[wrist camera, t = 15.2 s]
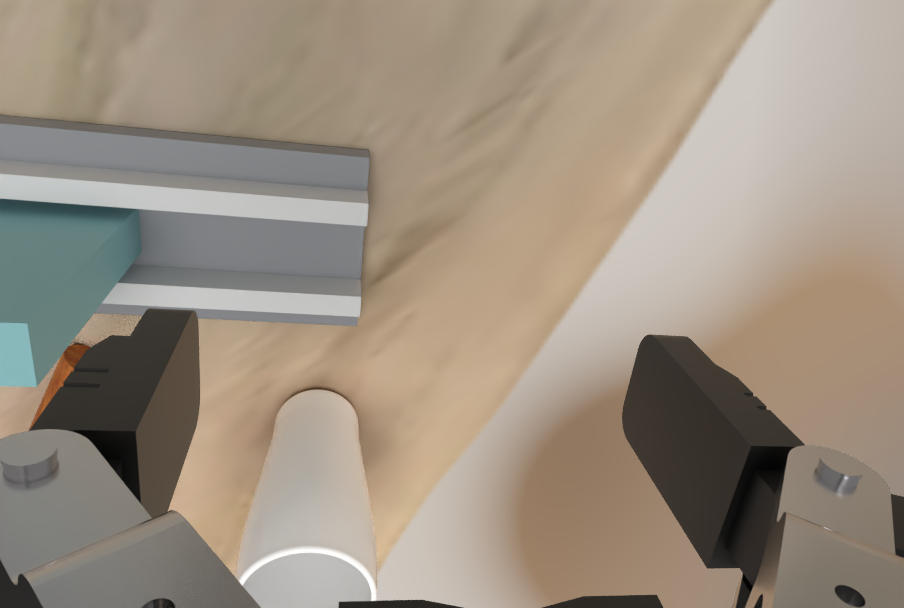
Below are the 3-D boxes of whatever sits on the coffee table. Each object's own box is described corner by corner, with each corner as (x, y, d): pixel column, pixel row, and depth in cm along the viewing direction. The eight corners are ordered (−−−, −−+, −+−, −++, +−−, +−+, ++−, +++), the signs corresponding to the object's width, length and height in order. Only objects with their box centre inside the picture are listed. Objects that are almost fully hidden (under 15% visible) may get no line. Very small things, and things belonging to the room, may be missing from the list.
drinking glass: (368, 460, 47) (378, 649, 34) (266, 464, 46) (234, 660, 33) (369, 374, 44) (380, 543, 31) (261, 376, 43) (223, 551, 30)
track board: (-117, 103, 34) (-179, 119, 30) (368, 150, 38) (371, 169, 34) (-80, 288, 38) (-130, 324, 34) (356, 311, 42) (357, 345, 38)
